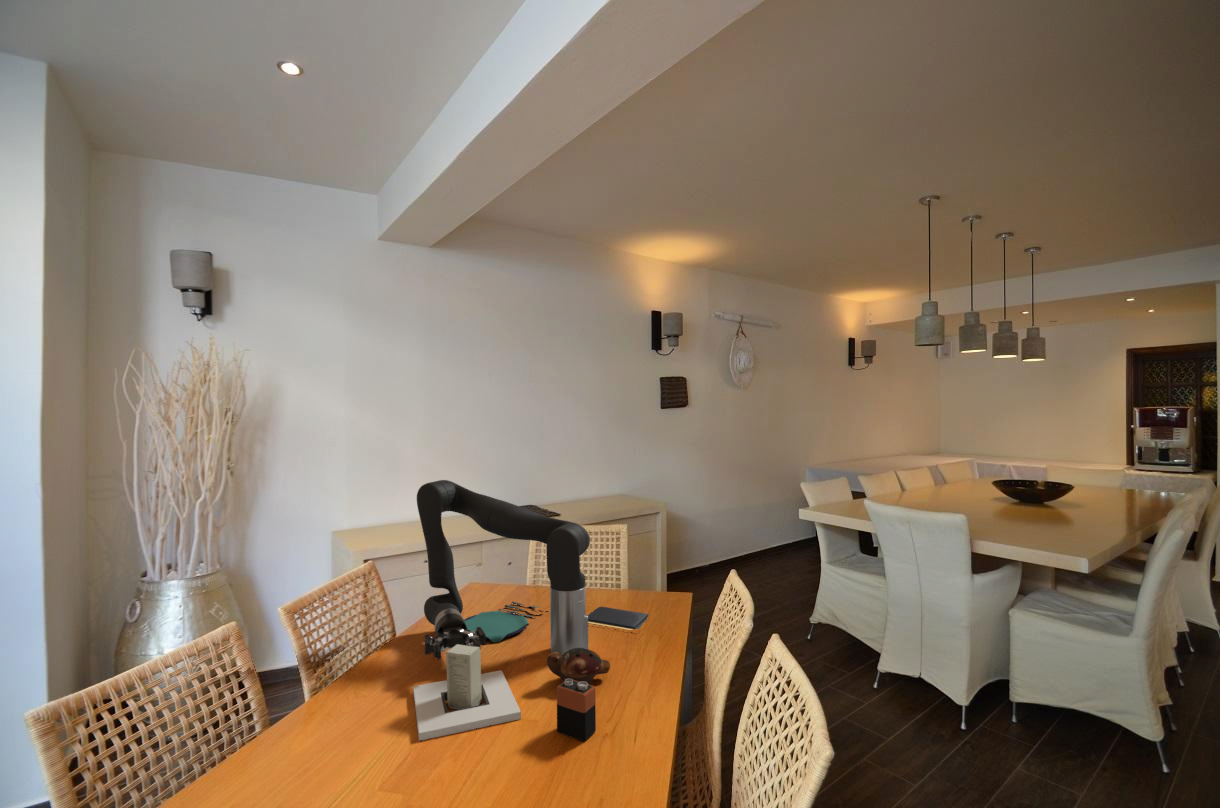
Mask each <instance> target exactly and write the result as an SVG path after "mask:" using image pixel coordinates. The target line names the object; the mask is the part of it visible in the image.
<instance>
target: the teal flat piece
mask: <svg viewBox="0 0 1220 808" xmlns="http://www.w3.org/2000/svg"><path fill="white" fill-rule="evenodd" d="M512 603H513V604H517V605H523V606H524V605H525V604H523V603H520V602H516V601H512V602H511V605H510V604H507V603H506V604H505V605H504V607H505V608H508V607H509V609H510V608H511V609H513V608H515V609H514V610H507V609H501V608H498V610H492V611H490V610H489V611H481V612H479V613H478V614H474V615H472V616H468V617H466V618H463V619H464V621H465V624H466V626H467V629H468V630H470V631H475V630H476V628H477V627H481V628H482V630H483V631H484V633H485V634H486V636H485V640H490V641H491V642H493V643H495V642H498V643H500V642H501V641H502V640H503V639H504V638H506V637H511V636H514V635H516V634H518V633H519V634H520V632H522V631H524V629H526V628H527V626H529V625H530V623H529V621H528V619H527V618H529V617H533V616H534V615H530V614H532V612H529V613H530V614H525V613H522V612H521V613H520V612H519V611H521V610H525V609H523V608H522V607H521V608H520V607H519V606H517V605H516V606H515V605H512ZM528 606H529V607H533V608H534V609H535V608H537V607H539V606H538V605H537V606H536V605H532V606H531V605H528ZM533 608H532V609H533ZM518 609H520V610H519V611H518ZM534 609H533V610H534ZM499 610H500V611H499ZM501 610H503V611H501ZM516 610H517V611H516ZM506 611H507V612H506ZM513 613H515V614H513ZM516 613H517V614H520V615H524V616H528V617H524V616H520V615H517V614H516ZM535 614H536V613H535ZM535 616H538V615H537V614H536V615H535ZM495 644H496V643H495Z"/></svg>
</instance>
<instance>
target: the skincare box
mask: <svg viewBox="0 0 1220 808" xmlns="http://www.w3.org/2000/svg"><path fill="white" fill-rule="evenodd" d="M445 657H446V659H445V660H446V680H447V697H448V700H447V709H448V708H449V709H453V710H457V709H462V708H467V707H472V706H477V705H481V703H482V702H483V699H482V690H481V674H482V664H481V660H482V659H481V650H480V647H475V646H468V645H460V644H457V645H455V646H454V647H452V648H448V649H447V651H446V650H445Z"/></svg>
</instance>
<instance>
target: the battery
mask: <svg viewBox="0 0 1220 808" xmlns="http://www.w3.org/2000/svg"><path fill="white" fill-rule="evenodd" d="M596 716H597V715H596V686H594V685H588V683H587V682H578V681H575V680H572V679H565V682H563V681H562V683H560V684H559V685H558V686H557V687H556V731H557V733H559V734H561V735H563V736H567V737H570V738H572V739H576V740H578V741H581V742H586V741H587V740H588V739H589V738H590V737H591V736H592V735H593V734H595V732H596V730H597V729H596V727H597V726H596V721H597V720H596V718H597V717H596Z"/></svg>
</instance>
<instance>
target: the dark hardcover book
mask: <svg viewBox="0 0 1220 808" xmlns="http://www.w3.org/2000/svg"><path fill="white" fill-rule="evenodd" d="M592 611H593V612H592ZM592 611H591V612H590V613H589V615H588V614H586V615H587V616H588V624H593V625H599V626H605V627H612V628H618V629H624V630H630V631H631V630H633V629H639V628H640V627H641V626H642V624H643V623H644V622H645V621H646V620H647V617H648V615H650V614H649V613H644V612H638V611H632V610H625V609H619V608H614V607H607V606H602V605H601V606H598V607H596V608H595V609H593V610H592Z"/></svg>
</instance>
